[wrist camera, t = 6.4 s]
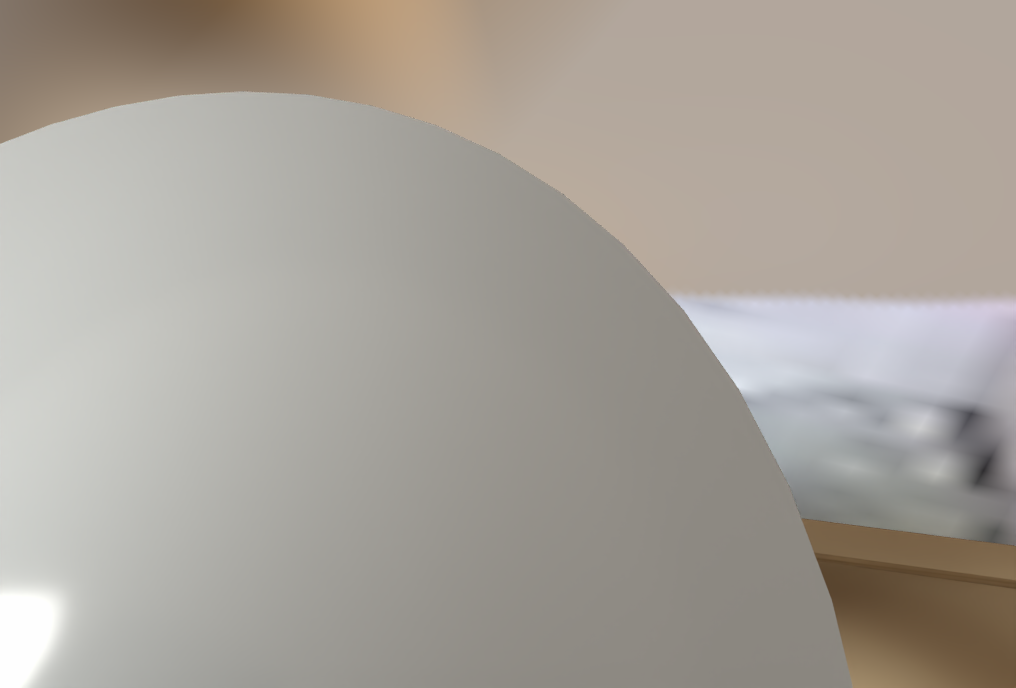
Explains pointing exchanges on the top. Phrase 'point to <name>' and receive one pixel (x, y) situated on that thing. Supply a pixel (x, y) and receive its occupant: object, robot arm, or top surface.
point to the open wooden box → (920, 606)
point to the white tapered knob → (365, 424)
